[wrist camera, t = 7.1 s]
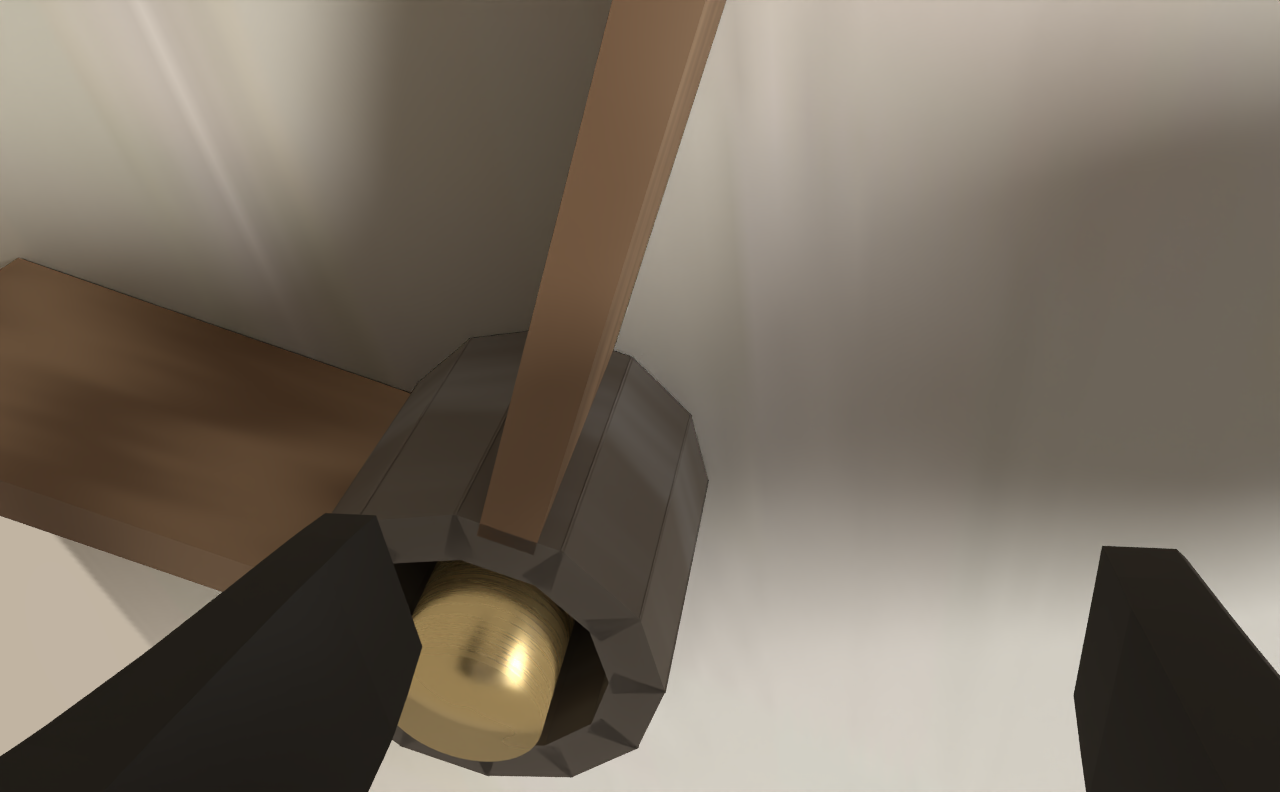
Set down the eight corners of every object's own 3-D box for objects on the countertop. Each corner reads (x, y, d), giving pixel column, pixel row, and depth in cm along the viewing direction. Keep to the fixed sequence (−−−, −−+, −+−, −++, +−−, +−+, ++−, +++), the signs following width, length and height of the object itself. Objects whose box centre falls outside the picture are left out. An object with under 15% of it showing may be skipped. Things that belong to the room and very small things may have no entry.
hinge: (955, -77, 15) (996, 23, 10) (654, 603, 25) (604, 816, 20) (-72, -440, 15) (-518, -511, 10) (35, 390, 25) (-165, 553, 20)
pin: (632, 433, 22) (556, 687, 17) (602, 523, 24) (525, 778, 18) (506, 393, 22) (387, 634, 16) (486, 486, 24) (373, 731, 18)
